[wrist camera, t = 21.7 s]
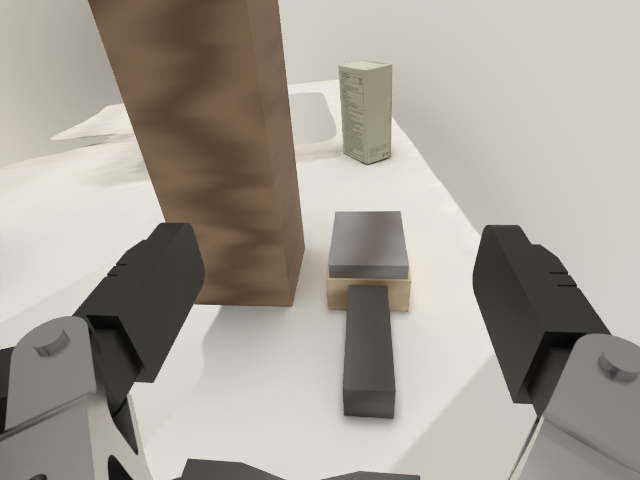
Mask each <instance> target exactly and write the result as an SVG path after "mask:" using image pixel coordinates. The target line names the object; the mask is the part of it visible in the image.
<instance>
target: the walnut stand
mask: <svg viewBox="0 0 640 480" xmlns="http://www.w3.org/2000/svg"><path fill="white" fill-rule="evenodd" d="M88 2H89V4H90V7H91V10H92V13H93V16H94V19H95V21H96V24H97V27H98V30H99V33H100V36H101V39H102V41H103V44H104V47H105V50H106V53H107V56H108V59H109V61H110V64H111V67H112V70H113V73H114V76H115V79H116V81H117V84H118V87H119V90H120V93H121V96H122V98H123V101H124V104H125V107H126V110H127V113H128V116H129V118H130V121H131V124H132V127H133V130H134V133H135V136H136V138H137V141H138V144H139V147H140V150H141V153H142V155H143V158H144V161H145V164H146V167H147V170H148V173H149V175H150V178H151V181H152V184H153V187H154V190H155V193H156V195H157V198H158V201H159V204H160V207H161V210H162V212H163V215H164V218H165V221H166V223H189V224H190V225H191V226H192V227H193V230H194V233H195V236H196V240H197V243H198V246H199V250H200V253H201V256H202V260H203V263H204V267H205V279H204V283H203V286H202V288H201V290H200V292H199V294H198V296H197V298H196V300H195V302H194V304H203V305H255V306H292V304H293V299H294V295H295V290H296V285H297V281H298V276H299V272H300V267H301V262H302V258H303V253H304V248H305V244H304V235H303V226H302V217H301V208H300V199H299V189H298V180H297V171H296V162H295V153H294V144H293V135H292V126H291V117H290V107H289V98H288V88H287V80H286V70H285V61H284V53H283V43H282V34H281V24H280V15H279V6H278V0H88Z"/></svg>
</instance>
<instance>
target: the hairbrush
mask: <svg viewBox="0 0 640 480" xmlns="http://www.w3.org/2000/svg"><path fill="white" fill-rule="evenodd" d="M326 280H327V294H328V308H329V310H347V324H346V342H345V360H344V378H343V402H344V415H348V416H365V417H382V418H393V417H394V404H395V378H394V365H393V352H392V338H391V325H390V311H408V306H409V295H410V284H411V279H410V273H409V264H408V257H407V251H406V245H405V238H404V232H403V225H402V219H401V213H400V211H384V212H335V220H334V227H333V234H332V242H331V249H330V257H329V264H328V272H327V279H326Z"/></svg>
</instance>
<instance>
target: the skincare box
mask: <svg viewBox="0 0 640 480" xmlns="http://www.w3.org/2000/svg"><path fill="white" fill-rule="evenodd" d="M339 76H340V77H339V79H340V97H341V114H342V132H343V149H344V153H345V154H347V155H349V156H351V157H353V158H355V159H357V160H359V161H361V162H364V163H366V164H370V163H373V162H376V161H379V160H382V159H385V158H388V157H390V156H391V110H392V108H391V107H392V64H386V63H378V62H370V61H359V62H354V63H350V64H344V65H339Z"/></svg>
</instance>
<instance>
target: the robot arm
mask: <svg viewBox="0 0 640 480" xmlns="http://www.w3.org/2000/svg"><path fill="white" fill-rule="evenodd" d="M204 279H205V267H204V263H203V260H202V256H201V253H200V250H199V246H198V243H197V240H196V236H195V233H194V230H193V227H192V226H191V225H190V224H189V223H160V224H159V225H158V226H157V227H156V229H155V230H154V231H153V232H152V234H151V235H150V236H149V237H148V238H147V240H142V241H141V242H139V243H138V244H136V245H135V246H133V247H132V248H130V249H129V250H127V251H126V253H125V254H124V255H123V256H122V257H121V258H120V260H119V261H118V262H117V263H116V266H114V267H113V268H112V269H111V270H110V272H109V273H108V274H107V277H104V279H103V280H102V281H101V282H100V283H99V284H98V286H97V287H96V288H95V289H94V290H93V291H92V293H91V294H90V295H89V296H88V297H87V299H86V300H85V301H84V302H83V303H82V304H81V306H80V307H79V308H78V309H77V311H76V312H75V313H74V314H73V315H72V316H67V317H61V318H56V319H53V320H50V321H48V322H45V323H43V324H41V325H40V326H38V327H36V328H34V329H33V330H32V331H30V332H29V333H27V334H26V335H25V336H24V337H23V338H22V339H21V340H20V341H19V342H18V344H17V345H16V346H15V347H10V348H6V349H1V350H0V480H153V478H152V476H151V474H150V472H149V469H148V466H147V463H146V459H145V454H144V450H143V446H142V441H141V437H140V432H139V428H138V423H137V419H136V414H135V410H134V405H133V401H132V398H131V395H130V394H129V391H130V389H131V387H132V385H133V384H134V382H148V383H153V382H154V380H155V378H156V377H157V375H158V373H159V371H160V369H161V367H162V364H163V363H164V361H165V359H166V357H167V355H168V353H169V351H170V349H171V347H172V345H173V343H174V341H175V339H176V337H177V335H178V333H179V331H180V329H181V327H182V326H183V323H184V322H185V320H186V318H187V316H188V314H189V312H190V310H191V308H192V306H193V304H194V302H195V300H196V298H197V296H198V294H199V292H200V290H201V288H202V286H203V283H204ZM473 290H474V294H475V297H476V300H477V302H478V305H479V308H480V311H481V314H482V317H483V319H484V322H485V325H486V328H487V331H488V333H489V336H490V339H491V342H492V345H493V347H494V350H495V353H496V356H497V359H498V361H499V364H500V367H501V370H502V372H503V375H504V378H505V381H506V384H507V387H508V390H509V392H510V395H511V398H512V401H513V403H521V404H533V407H534V409H535V411H536V414H537V417H536V419H535V421H534V423H533V425H532V427H531V429H530V432H529V434H528V436H527V438H526V440H525V443H524V445H523V447H522V449H521V451H520V454H519V456H518V458H517V460H516V462H515V465H514V467H513V469H512V471H511V474H510V476H509V478H508V480H640V347H639V346H637V345H636V344H634V343H632V342H629V341H627V340H625V339H622V338H619V337H616V336H612V335H611V333H610V332H609V330H608V329H607V327H606V326H605V325H604V323H603V322H602V320H601V319H600V317H599V316H598V314H597V313H596V312H595V310H594V309H593V307H592V306H591V304H590V303H589V301H588V300H587V299H586V297H585V296H584V294H583V293H582V291H581V290H580V289H579V288H577V284H576V283H575V281H574V280H573V279H572V277H571V276H570V275H568V271H567V270H566V268H565V267H564V266H563V264H562V263H561V262H560V260H559V258H558V257H557V256H555V255H554V254H552V253H551V252H550V251H548V250H547V249H546V248H544V247H543V246H541V245H532V244H531V243H530V241H529V240H528V238H527V237H526V235H525V233H524V232H523V230H522V229H521V227H520V226H518V225H487V226H486V227H485V228H484V230H483V233H482V237H481V241H480V245H479V249H478V253H477V257H476V261H475V266H474V270H473ZM173 480H285V479H282V478H280V477H277V476H275V475H272V474H270V473H267V472H265V471H262V470H259V469H257V468H254V467H252V466H249V465H247V464H244V463H240V462H227V461H213V460H199V459H188V460H187V462H186V465H185V468H184V471H183V474H182V476H181V477H179V478H176V479H173ZM322 480H420V476H418V475H404V474H390V473H377V472H363V471H359V472H354V473H350V474H345V475H340V476H336V477H331V478H327V479H322Z"/></svg>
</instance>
